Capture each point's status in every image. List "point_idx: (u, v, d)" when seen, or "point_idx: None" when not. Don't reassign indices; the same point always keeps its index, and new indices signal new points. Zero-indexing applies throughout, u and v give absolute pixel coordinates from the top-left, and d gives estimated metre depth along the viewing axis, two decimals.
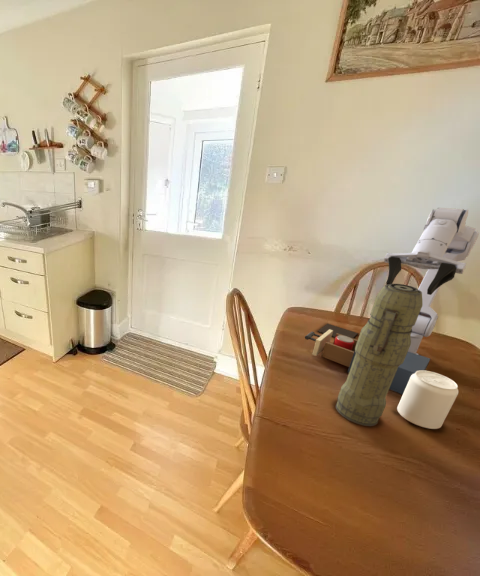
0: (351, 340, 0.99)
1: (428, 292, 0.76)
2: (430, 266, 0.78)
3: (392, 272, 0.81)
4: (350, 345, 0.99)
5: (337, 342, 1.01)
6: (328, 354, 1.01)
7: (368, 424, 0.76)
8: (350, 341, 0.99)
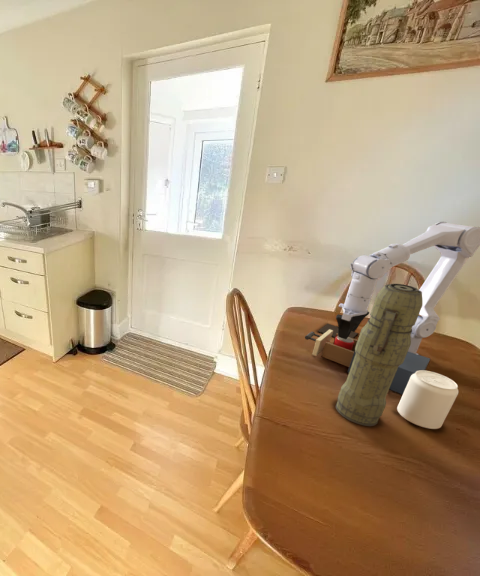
0: (351, 340, 0.99)
1: None
2: None
3: None
4: (350, 345, 0.99)
5: (337, 342, 1.01)
6: (328, 354, 1.01)
7: (368, 424, 0.76)
8: (350, 341, 0.99)
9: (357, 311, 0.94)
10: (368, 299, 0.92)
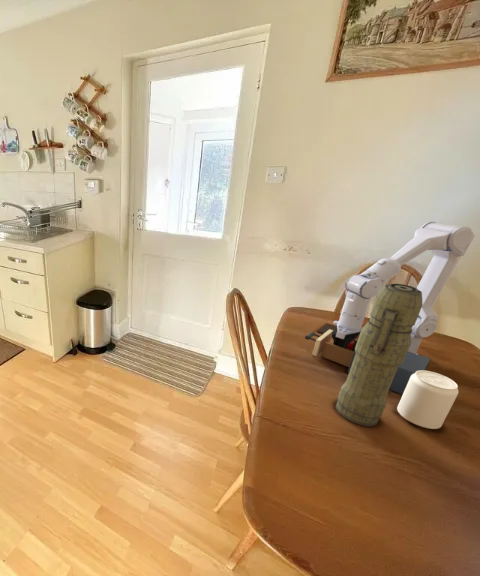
0: None
1: None
2: None
3: None
4: (350, 345, 0.99)
5: None
6: (328, 354, 1.01)
7: (368, 424, 0.76)
8: None
9: (351, 329, 0.96)
10: (361, 318, 0.95)
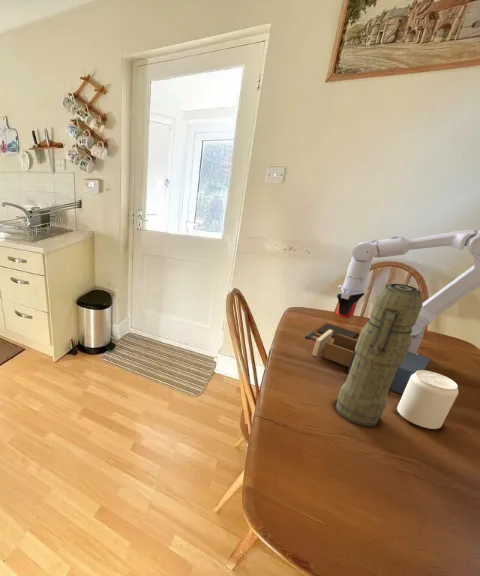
0: None
1: None
2: None
3: None
4: (353, 306, 1.09)
5: None
6: (328, 354, 1.01)
7: (368, 424, 0.76)
8: None
9: (354, 291, 1.07)
10: (364, 280, 1.05)
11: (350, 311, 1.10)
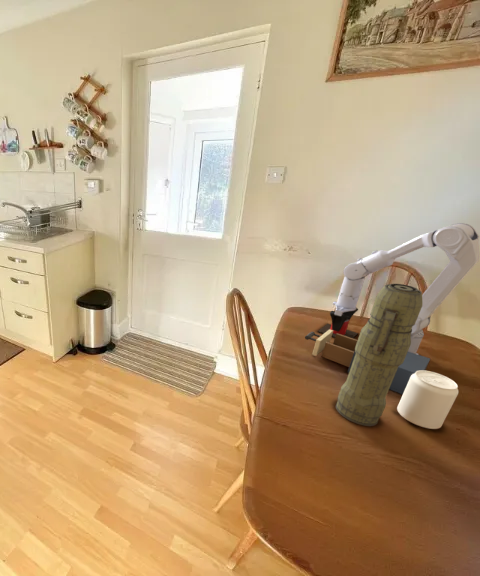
0: None
1: None
2: None
3: None
4: (346, 324, 1.15)
5: None
6: (328, 354, 1.01)
7: (368, 424, 0.76)
8: (346, 320, 1.16)
9: (347, 308, 1.13)
10: (356, 298, 1.11)
11: (343, 328, 1.16)
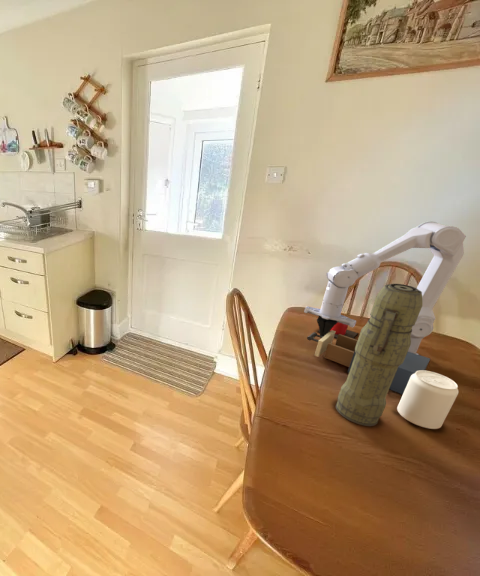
0: None
1: None
2: (334, 320, 1.06)
3: (321, 331, 1.08)
4: None
5: None
6: (330, 355, 1.00)
7: (368, 424, 0.76)
8: None
9: (340, 315, 1.05)
10: None
11: (343, 328, 1.16)
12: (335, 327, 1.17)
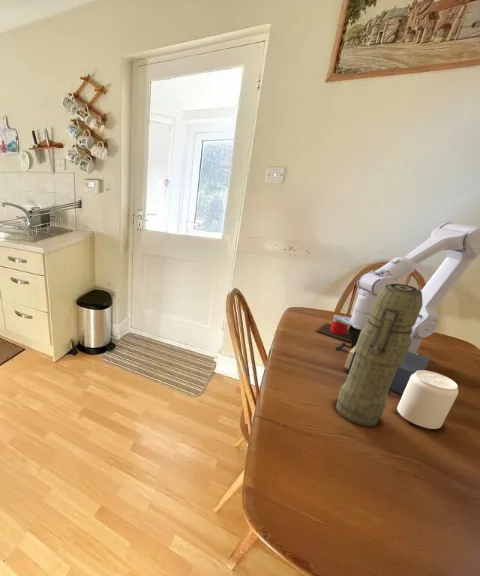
0: None
1: None
2: None
3: (353, 341, 1.01)
4: None
5: (334, 322, 1.17)
6: None
7: (368, 424, 0.76)
8: None
9: None
10: None
11: (343, 328, 1.16)
12: (335, 327, 1.17)
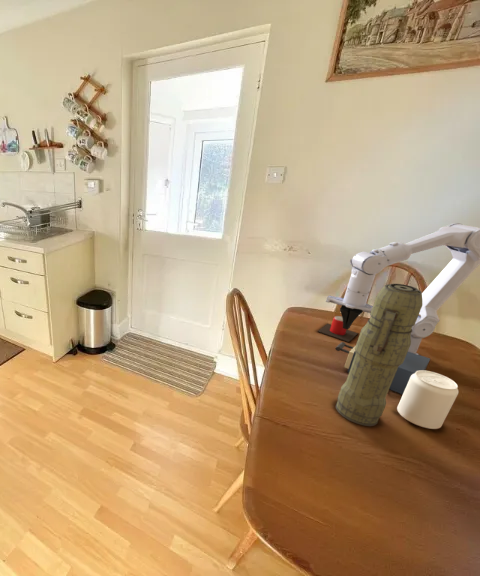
0: None
1: None
2: None
3: (345, 321, 1.02)
4: None
5: (334, 322, 1.17)
6: None
7: (368, 424, 0.76)
8: None
9: None
10: None
11: (343, 328, 1.16)
12: (335, 327, 1.17)
